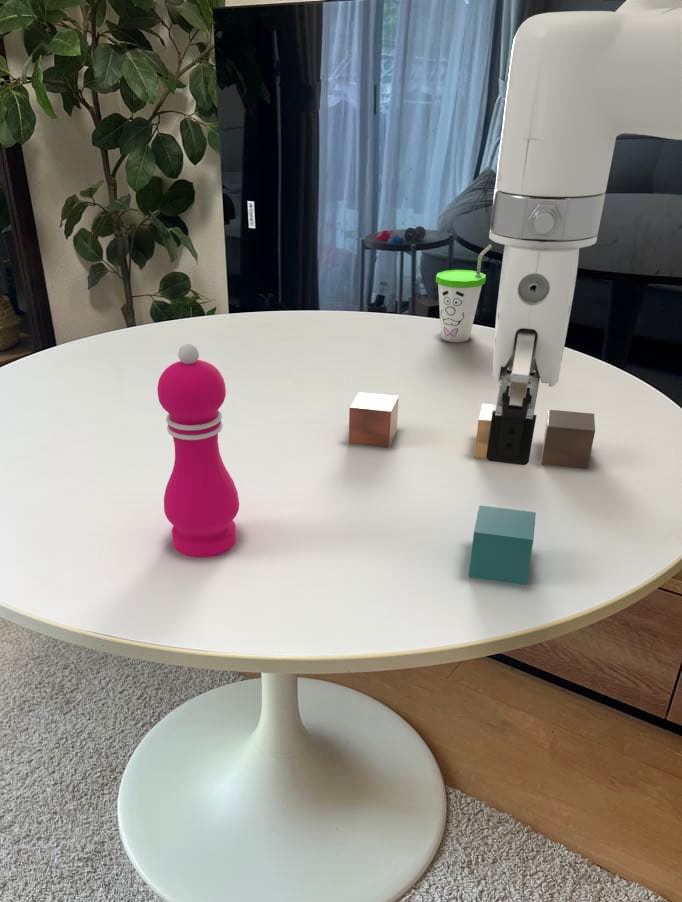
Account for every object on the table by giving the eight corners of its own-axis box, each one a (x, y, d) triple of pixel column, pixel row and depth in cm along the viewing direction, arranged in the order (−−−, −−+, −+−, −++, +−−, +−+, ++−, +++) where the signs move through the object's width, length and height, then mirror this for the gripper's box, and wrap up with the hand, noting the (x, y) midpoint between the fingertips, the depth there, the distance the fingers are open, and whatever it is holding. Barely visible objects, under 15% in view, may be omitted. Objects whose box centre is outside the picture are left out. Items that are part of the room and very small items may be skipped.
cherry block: (396, 433, 99) (398, 395, 96) (389, 450, 95) (391, 411, 92) (357, 429, 100) (358, 392, 97) (348, 445, 96) (349, 407, 93)
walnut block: (586, 453, 93) (594, 413, 90) (587, 471, 89) (595, 430, 86) (542, 448, 94) (548, 409, 91) (540, 466, 90) (547, 426, 87)
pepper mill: (248, 526, 80) (238, 332, 70) (232, 565, 74) (218, 359, 64) (180, 521, 81) (160, 330, 71) (158, 559, 75) (133, 356, 65)
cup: (423, 342, 129) (429, 246, 121) (443, 329, 134) (450, 237, 127) (468, 350, 125) (478, 251, 117) (486, 336, 131) (497, 242, 123)
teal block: (528, 558, 74) (535, 512, 71) (525, 587, 70) (533, 540, 67) (473, 550, 75) (479, 505, 73) (468, 579, 71) (473, 532, 69)
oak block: (520, 446, 95) (526, 407, 92) (518, 464, 91) (524, 424, 88) (477, 442, 96) (482, 403, 93) (473, 459, 92) (478, 419, 89)
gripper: (604, 244, 49) (556, 489, 58) (597, 201, 63) (559, 403, 72) (480, 238, 51) (452, 476, 60) (500, 198, 65) (475, 395, 74)
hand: (510, 436), depth 66 cm, fingers open, 9 cm apart
